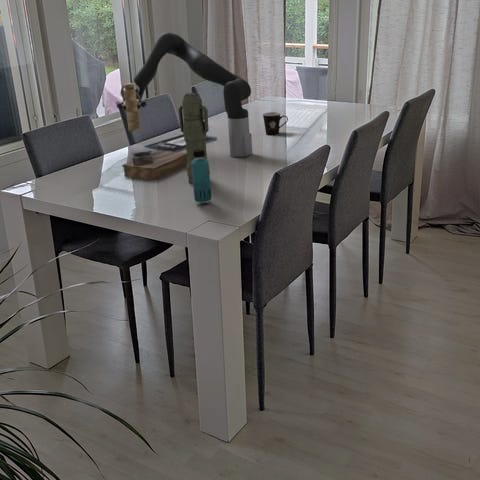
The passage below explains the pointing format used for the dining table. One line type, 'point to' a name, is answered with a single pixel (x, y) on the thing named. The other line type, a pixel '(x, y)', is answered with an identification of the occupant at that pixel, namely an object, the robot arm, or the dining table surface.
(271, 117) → the coffee mug
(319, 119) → the dining table surface
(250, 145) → the robot arm
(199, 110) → the thermos
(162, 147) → the sketchbook
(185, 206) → the dining table surface
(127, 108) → the wooden square peg
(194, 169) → the beverage bottle
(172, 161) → the board with square socket
